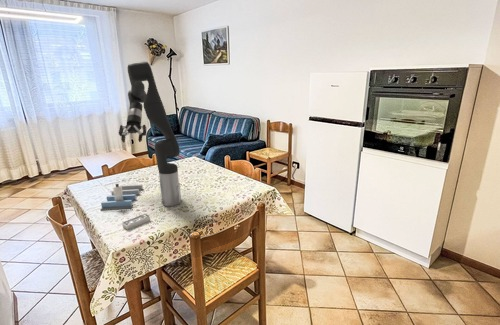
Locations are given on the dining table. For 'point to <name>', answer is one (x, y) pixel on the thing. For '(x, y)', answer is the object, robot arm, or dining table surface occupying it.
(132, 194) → the grey blue ridged block
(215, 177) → the dining table surface
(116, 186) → the white bottle with cap
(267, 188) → the dining table surface
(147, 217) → the multiport hub
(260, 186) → the dining table surface
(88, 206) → the dining table surface
